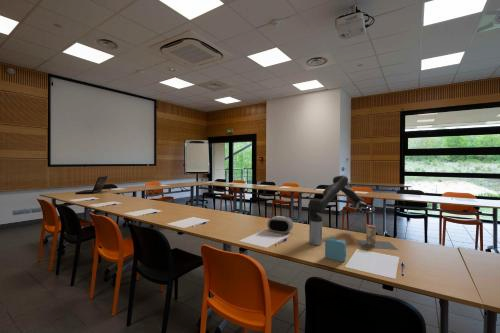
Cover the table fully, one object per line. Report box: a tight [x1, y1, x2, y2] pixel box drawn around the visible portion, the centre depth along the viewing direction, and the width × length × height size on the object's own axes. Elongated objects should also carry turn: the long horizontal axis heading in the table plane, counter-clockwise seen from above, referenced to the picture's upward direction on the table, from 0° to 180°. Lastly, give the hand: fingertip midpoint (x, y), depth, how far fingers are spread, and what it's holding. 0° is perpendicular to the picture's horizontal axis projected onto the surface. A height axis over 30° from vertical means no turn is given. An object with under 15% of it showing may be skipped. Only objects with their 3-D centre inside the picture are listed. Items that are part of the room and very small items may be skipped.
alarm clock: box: [266, 215, 294, 235], centre depth 215 cm, size 21×10×13 cm, turn 67°
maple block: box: [365, 224, 377, 246], centre depth 183 cm, size 5×5×14 cm
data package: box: [324, 237, 347, 263], centre depth 157 cm, size 12×4×12 cm, turn 53°
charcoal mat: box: [356, 239, 399, 251], centre depth 183 cm, size 24×18×1 cm
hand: (367, 211), depth 192 cm, fingers open, 8 cm apart
